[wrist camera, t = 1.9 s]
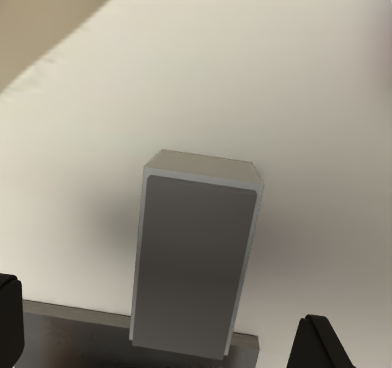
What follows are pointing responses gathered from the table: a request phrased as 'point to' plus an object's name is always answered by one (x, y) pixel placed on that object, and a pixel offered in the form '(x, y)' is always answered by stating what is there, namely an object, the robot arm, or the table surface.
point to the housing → (192, 251)
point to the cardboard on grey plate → (108, 343)
